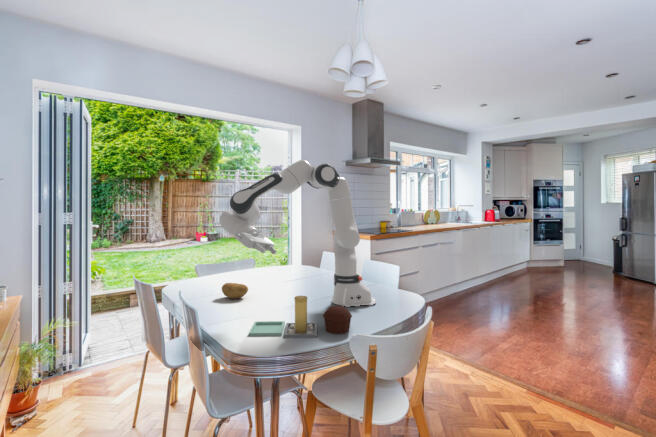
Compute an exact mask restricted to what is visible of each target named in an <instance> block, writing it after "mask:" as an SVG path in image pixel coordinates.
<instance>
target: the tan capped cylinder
mask: <svg viewBox="0 0 656 437" xmlns="http://www.w3.org/2000/svg"><path fill="white" fill-rule="evenodd" d="M294 323H295V332H296V333H305V332H307V323H308V296H306V295H296V296H295V297H294Z"/></svg>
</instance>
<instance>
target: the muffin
mask: <svg viewBox="0 0 656 437" xmlns="http://www.w3.org/2000/svg"><path fill="white" fill-rule="evenodd" d="M322 317H323V320H324V326H325V332H327V333H329V334H331V335H332V334H334V335H340V334H346V333H348V332H349V331H350V327H351V322H352V321H351V320H352V317H353V315H352V313H351V312H350V311H349V309H348V307H344V306H342V305H337V304H335V305H332V306H330V307H328V308H327V309H326V310H325V312H324V313H322Z"/></svg>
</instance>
